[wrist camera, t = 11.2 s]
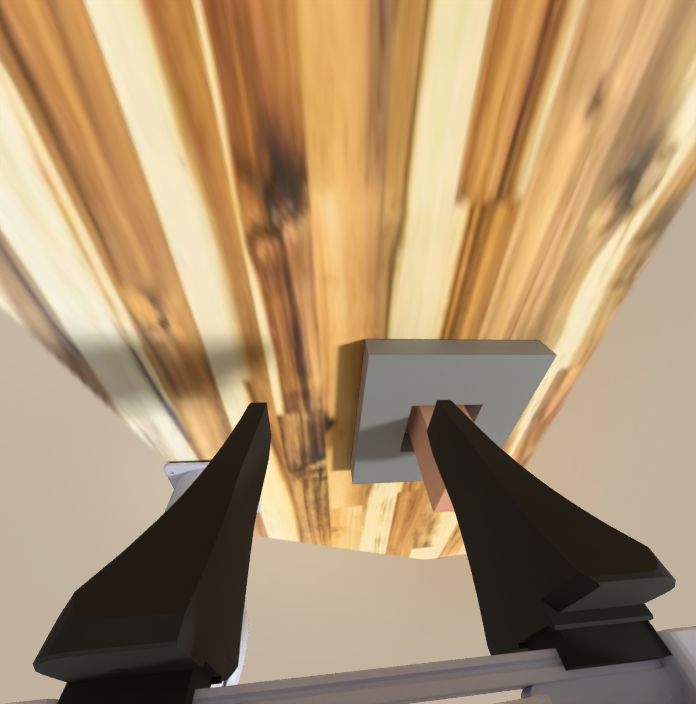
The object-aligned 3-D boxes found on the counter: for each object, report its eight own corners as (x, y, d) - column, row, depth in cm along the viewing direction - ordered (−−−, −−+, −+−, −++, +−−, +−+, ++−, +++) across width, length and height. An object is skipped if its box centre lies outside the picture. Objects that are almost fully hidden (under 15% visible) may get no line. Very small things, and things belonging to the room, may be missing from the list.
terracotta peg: (446, 425, 28) (485, 509, 21) (406, 426, 28) (433, 512, 21) (458, 395, 26) (505, 479, 19) (415, 395, 25) (449, 481, 19)
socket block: (475, 461, 32) (484, 478, 30) (350, 466, 30) (352, 484, 29) (539, 340, 23) (556, 354, 21) (365, 339, 21) (369, 354, 20)
